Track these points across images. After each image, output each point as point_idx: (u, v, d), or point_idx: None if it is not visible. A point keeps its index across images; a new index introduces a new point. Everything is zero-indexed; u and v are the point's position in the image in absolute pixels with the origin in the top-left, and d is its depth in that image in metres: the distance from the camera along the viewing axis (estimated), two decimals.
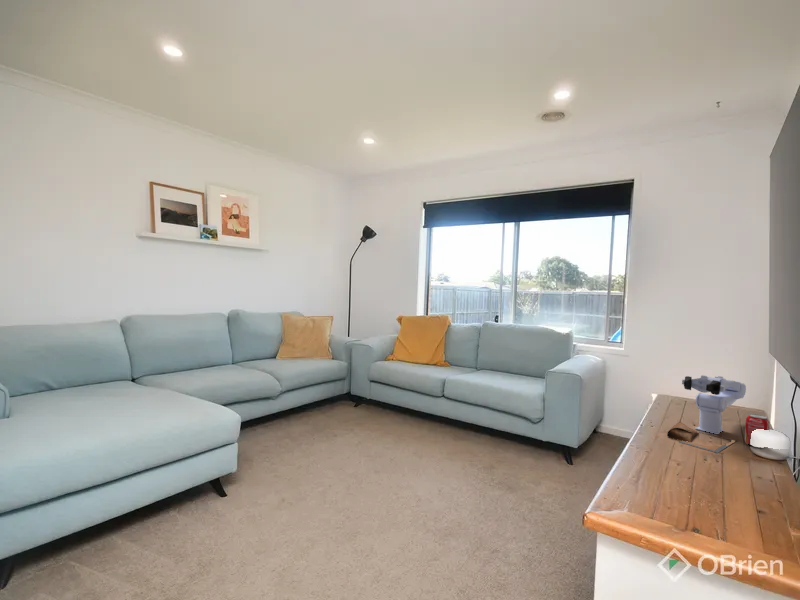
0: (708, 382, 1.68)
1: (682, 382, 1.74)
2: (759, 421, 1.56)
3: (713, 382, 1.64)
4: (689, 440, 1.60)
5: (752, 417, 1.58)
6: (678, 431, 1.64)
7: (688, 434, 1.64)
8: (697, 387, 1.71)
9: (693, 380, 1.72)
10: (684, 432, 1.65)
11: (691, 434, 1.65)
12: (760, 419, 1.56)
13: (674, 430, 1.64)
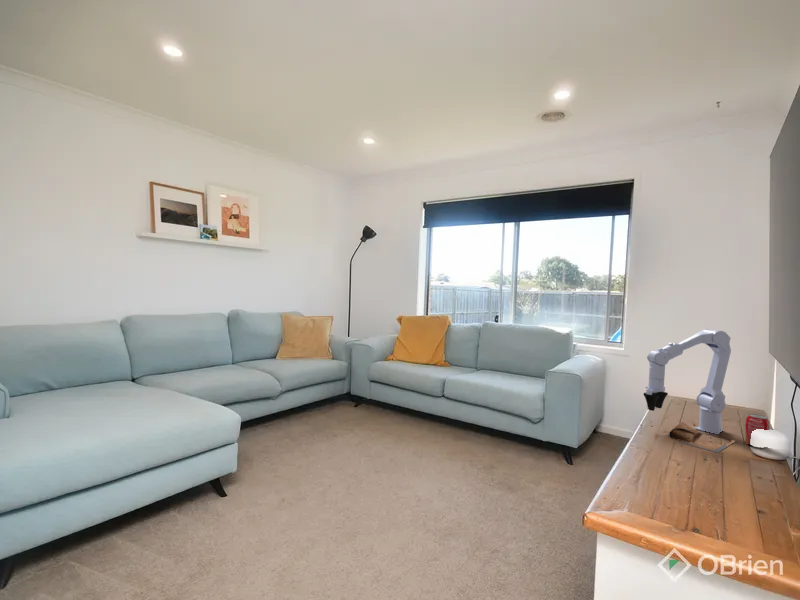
0: None
1: None
2: (759, 421, 1.56)
3: None
4: (691, 440, 1.60)
5: (752, 417, 1.58)
6: (680, 431, 1.64)
7: (690, 434, 1.63)
8: None
9: None
10: (686, 432, 1.64)
11: (693, 434, 1.64)
12: (760, 419, 1.56)
13: (676, 430, 1.64)
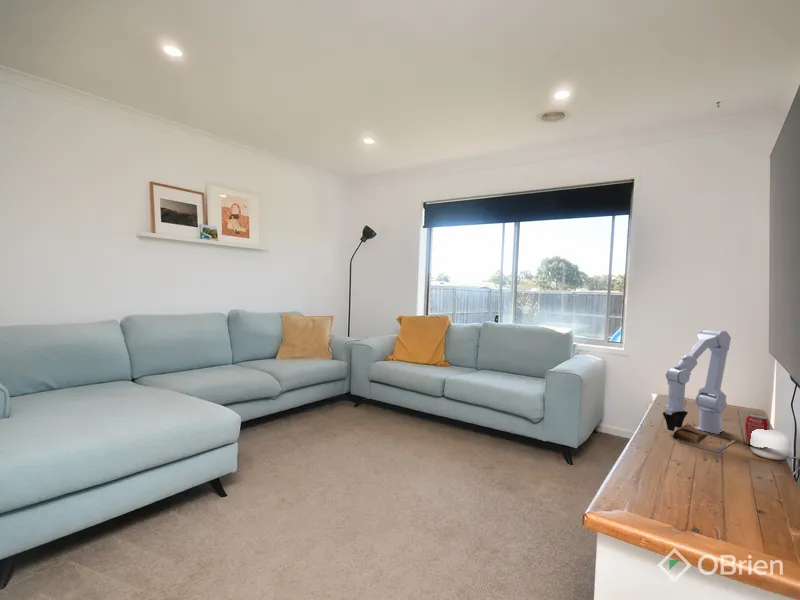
0: None
1: None
2: (759, 421, 1.56)
3: None
4: (695, 441, 1.59)
5: (752, 417, 1.58)
6: (684, 432, 1.63)
7: (695, 435, 1.62)
8: None
9: None
10: (691, 433, 1.63)
11: (698, 436, 1.63)
12: (760, 419, 1.56)
13: (680, 431, 1.63)
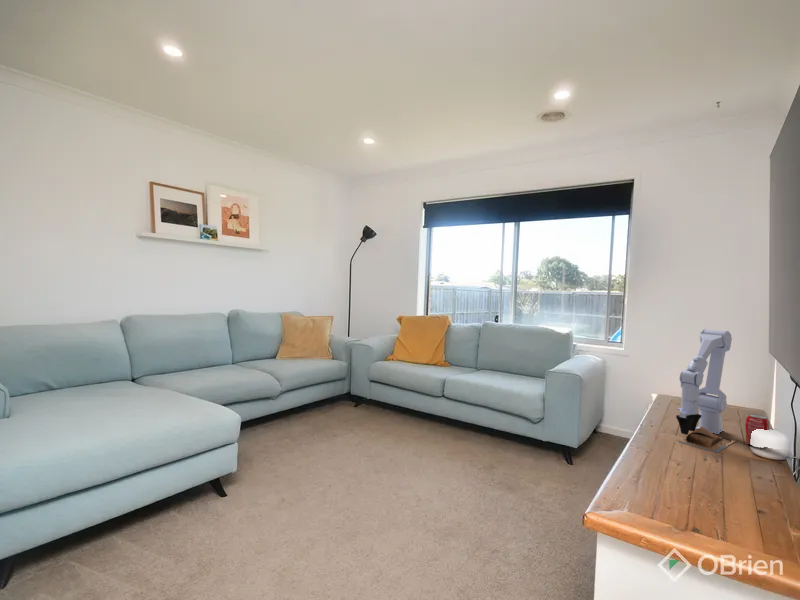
0: None
1: None
2: (759, 421, 1.56)
3: None
4: (709, 445, 1.56)
5: (752, 417, 1.58)
6: (698, 436, 1.60)
7: (709, 439, 1.59)
8: None
9: None
10: (704, 437, 1.60)
11: (712, 439, 1.60)
12: (760, 419, 1.56)
13: (693, 435, 1.60)
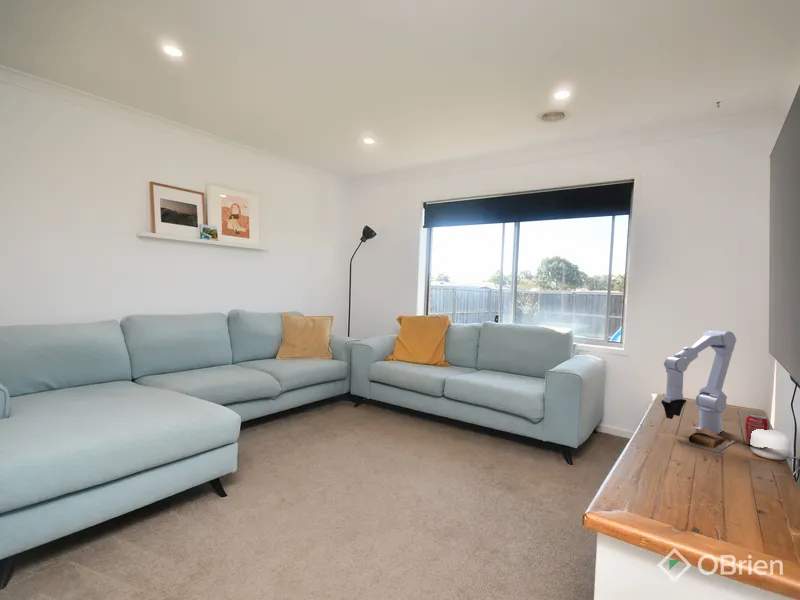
0: None
1: None
2: (759, 421, 1.56)
3: None
4: (712, 446, 1.55)
5: (752, 417, 1.58)
6: (700, 436, 1.59)
7: (711, 440, 1.58)
8: None
9: None
10: (707, 437, 1.59)
11: (715, 440, 1.59)
12: (760, 419, 1.56)
13: (696, 435, 1.59)
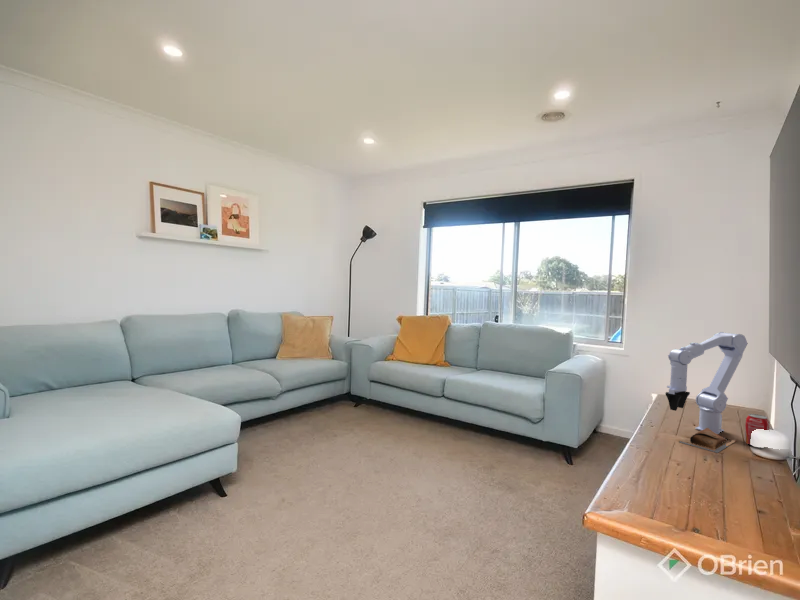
0: None
1: None
2: (759, 421, 1.56)
3: None
4: (713, 446, 1.54)
5: (752, 417, 1.58)
6: (702, 437, 1.59)
7: (713, 440, 1.58)
8: None
9: None
10: (709, 438, 1.59)
11: (717, 440, 1.58)
12: (760, 419, 1.56)
13: (698, 436, 1.59)
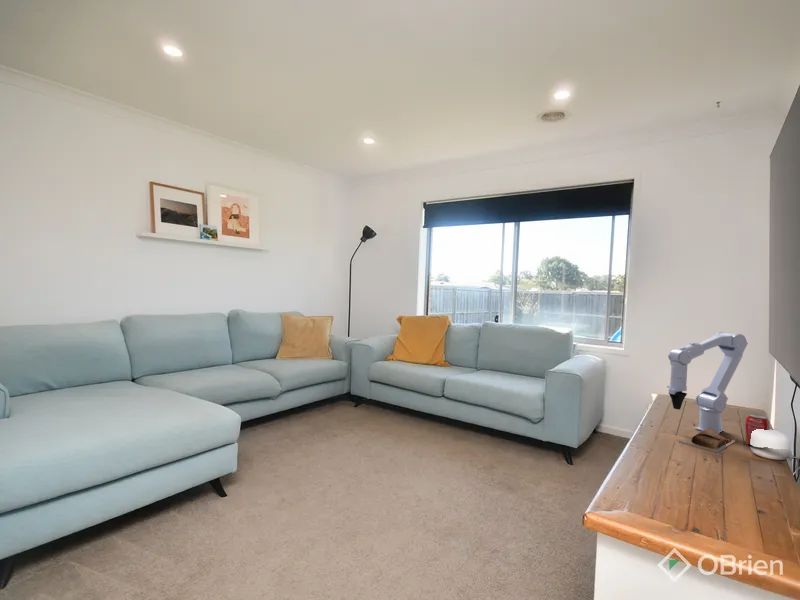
0: None
1: None
2: (759, 421, 1.56)
3: None
4: (715, 447, 1.54)
5: (752, 417, 1.58)
6: (704, 437, 1.58)
7: (715, 441, 1.57)
8: None
9: None
10: (711, 438, 1.58)
11: (719, 441, 1.58)
12: (760, 419, 1.56)
13: (699, 436, 1.58)
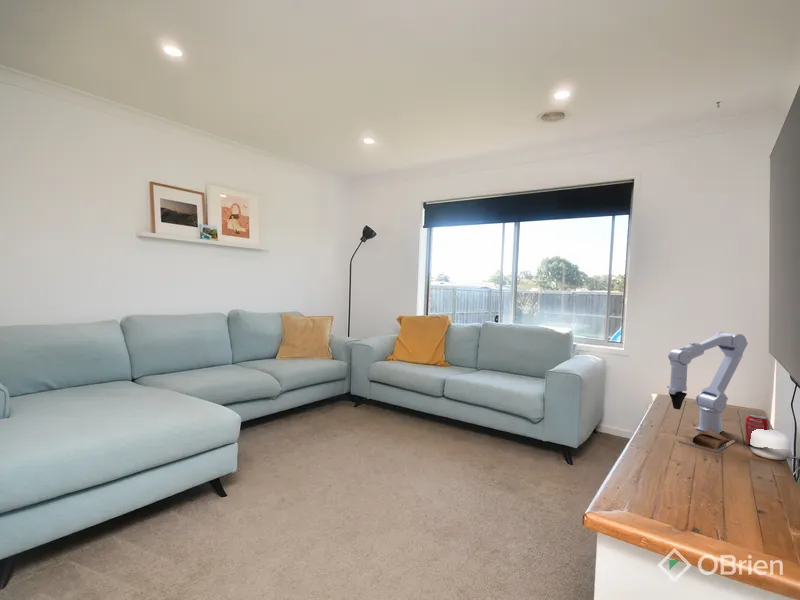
0: None
1: None
2: (759, 421, 1.56)
3: None
4: (716, 447, 1.54)
5: (752, 417, 1.58)
6: (705, 437, 1.58)
7: (716, 441, 1.57)
8: None
9: None
10: (712, 439, 1.58)
11: (720, 441, 1.57)
12: (760, 419, 1.56)
13: (700, 436, 1.58)
